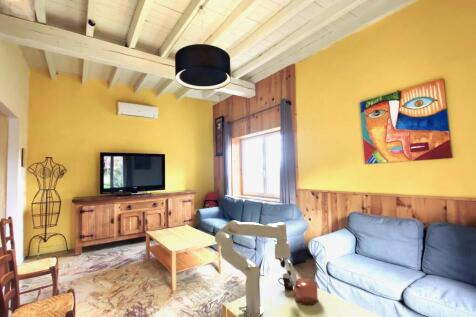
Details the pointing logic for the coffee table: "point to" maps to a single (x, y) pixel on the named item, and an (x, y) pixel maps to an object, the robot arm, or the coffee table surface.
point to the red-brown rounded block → (306, 291)
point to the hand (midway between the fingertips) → (282, 266)
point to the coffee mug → (286, 282)
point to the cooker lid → (291, 272)
